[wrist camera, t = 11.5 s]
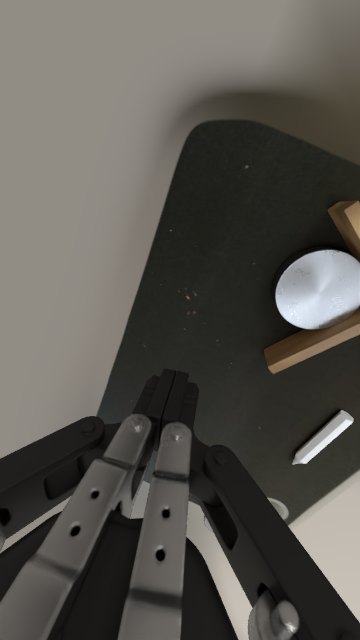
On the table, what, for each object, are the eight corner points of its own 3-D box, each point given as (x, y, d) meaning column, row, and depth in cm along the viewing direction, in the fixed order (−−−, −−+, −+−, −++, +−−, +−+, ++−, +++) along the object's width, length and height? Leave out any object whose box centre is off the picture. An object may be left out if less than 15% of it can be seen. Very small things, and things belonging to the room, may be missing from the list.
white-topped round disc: (257, 277, 35) (259, 282, 33) (333, 228, 31) (343, 230, 29) (294, 333, 38) (299, 342, 35) (370, 295, 34) (382, 302, 31)
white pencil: (289, 456, 50) (341, 408, 43) (298, 465, 49) (353, 416, 42) (286, 464, 48) (340, 414, 41) (295, 473, 47) (352, 424, 40)
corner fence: (216, 285, 37) (214, 296, 33) (339, 201, 30) (358, 200, 25) (268, 355, 41) (273, 374, 36) (389, 295, 33) (414, 309, 29)
